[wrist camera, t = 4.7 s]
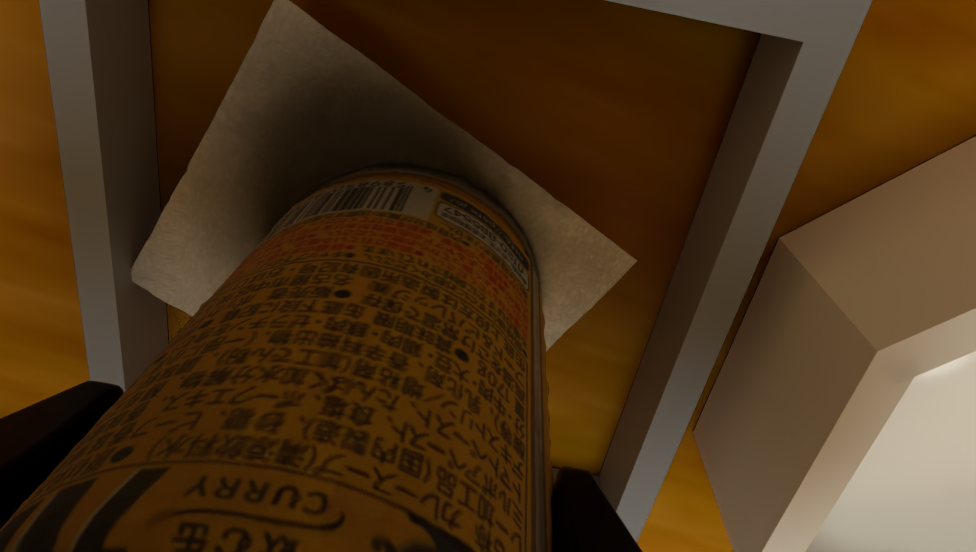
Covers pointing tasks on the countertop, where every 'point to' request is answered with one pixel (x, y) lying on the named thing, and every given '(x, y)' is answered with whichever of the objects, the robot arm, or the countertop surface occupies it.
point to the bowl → (857, 378)
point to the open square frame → (692, 290)
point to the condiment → (336, 333)
